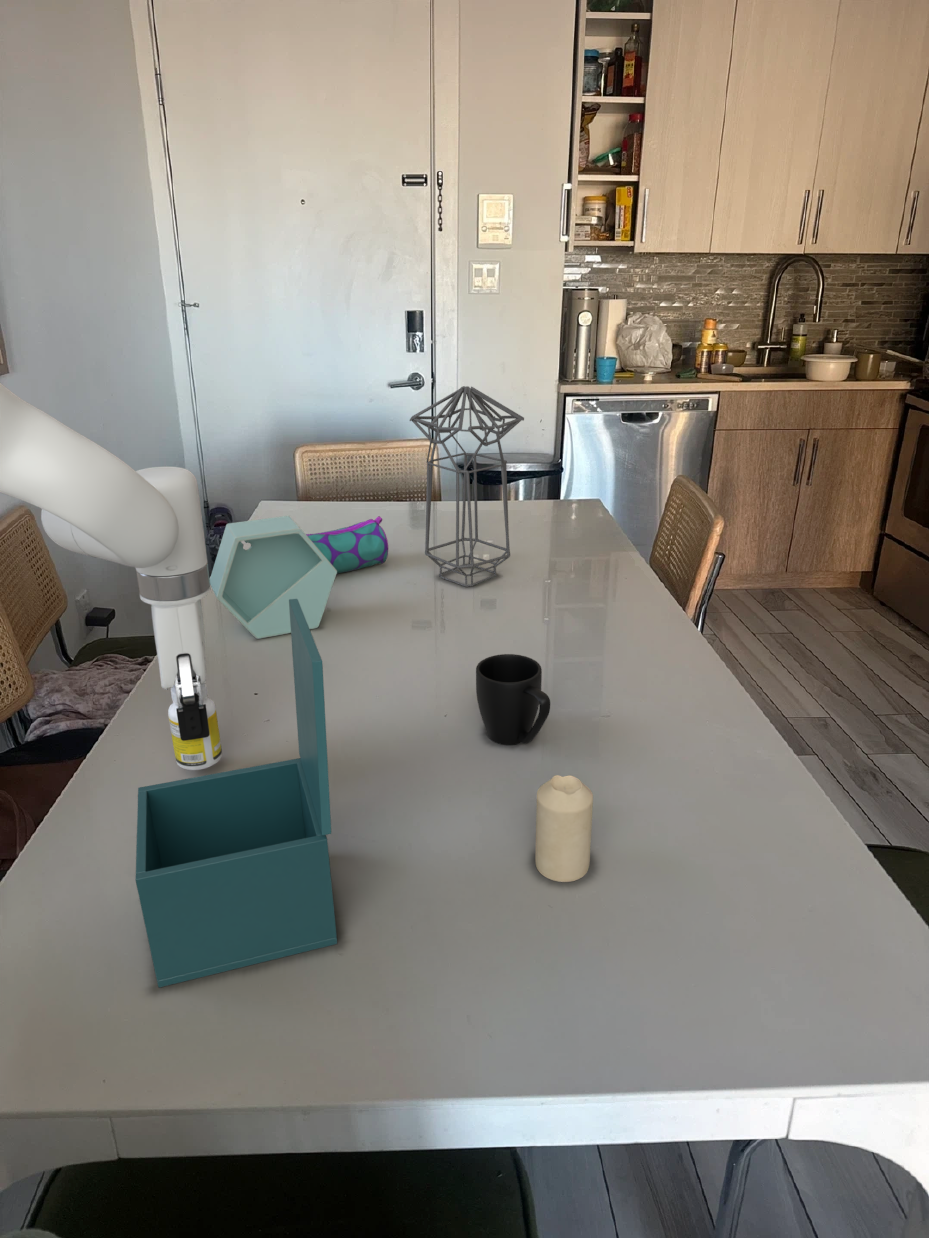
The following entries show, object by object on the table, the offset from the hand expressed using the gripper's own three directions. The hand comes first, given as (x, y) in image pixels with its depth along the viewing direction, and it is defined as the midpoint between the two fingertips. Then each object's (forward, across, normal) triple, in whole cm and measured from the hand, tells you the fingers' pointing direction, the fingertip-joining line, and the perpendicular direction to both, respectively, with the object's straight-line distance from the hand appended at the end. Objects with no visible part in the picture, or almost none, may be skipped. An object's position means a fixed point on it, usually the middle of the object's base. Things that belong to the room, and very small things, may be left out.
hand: (194, 723), depth 103 cm
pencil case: (+5, -62, +27) cm, 68 cm away
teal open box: (+7, +26, +3) cm, 27 cm away
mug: (+6, +6, +38) cm, 39 cm away
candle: (+7, +30, +34) cm, 46 cm away
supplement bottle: (+5, 0, 0) cm, 5 cm away
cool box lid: (-14, +27, +10) cm, 32 cm away
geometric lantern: (+5, -51, +51) cm, 73 cm away
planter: (+6, -41, +14) cm, 43 cm away
